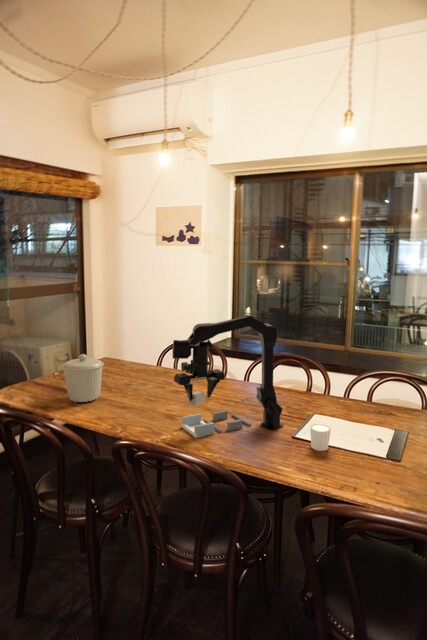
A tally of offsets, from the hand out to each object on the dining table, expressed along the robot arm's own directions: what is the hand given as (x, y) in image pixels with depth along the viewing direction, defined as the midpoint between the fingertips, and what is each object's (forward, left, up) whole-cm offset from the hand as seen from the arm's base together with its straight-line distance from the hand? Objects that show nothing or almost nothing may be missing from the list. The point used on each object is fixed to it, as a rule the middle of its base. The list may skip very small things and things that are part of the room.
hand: (199, 399), depth 158 cm
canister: (+56, +30, -12) cm, 64 cm away
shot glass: (-33, -29, -12) cm, 46 cm away
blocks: (0, -12, -12) cm, 17 cm away
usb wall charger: (0, 0, -2) cm, 2 cm away
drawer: (0, +1, -12) cm, 12 cm away
